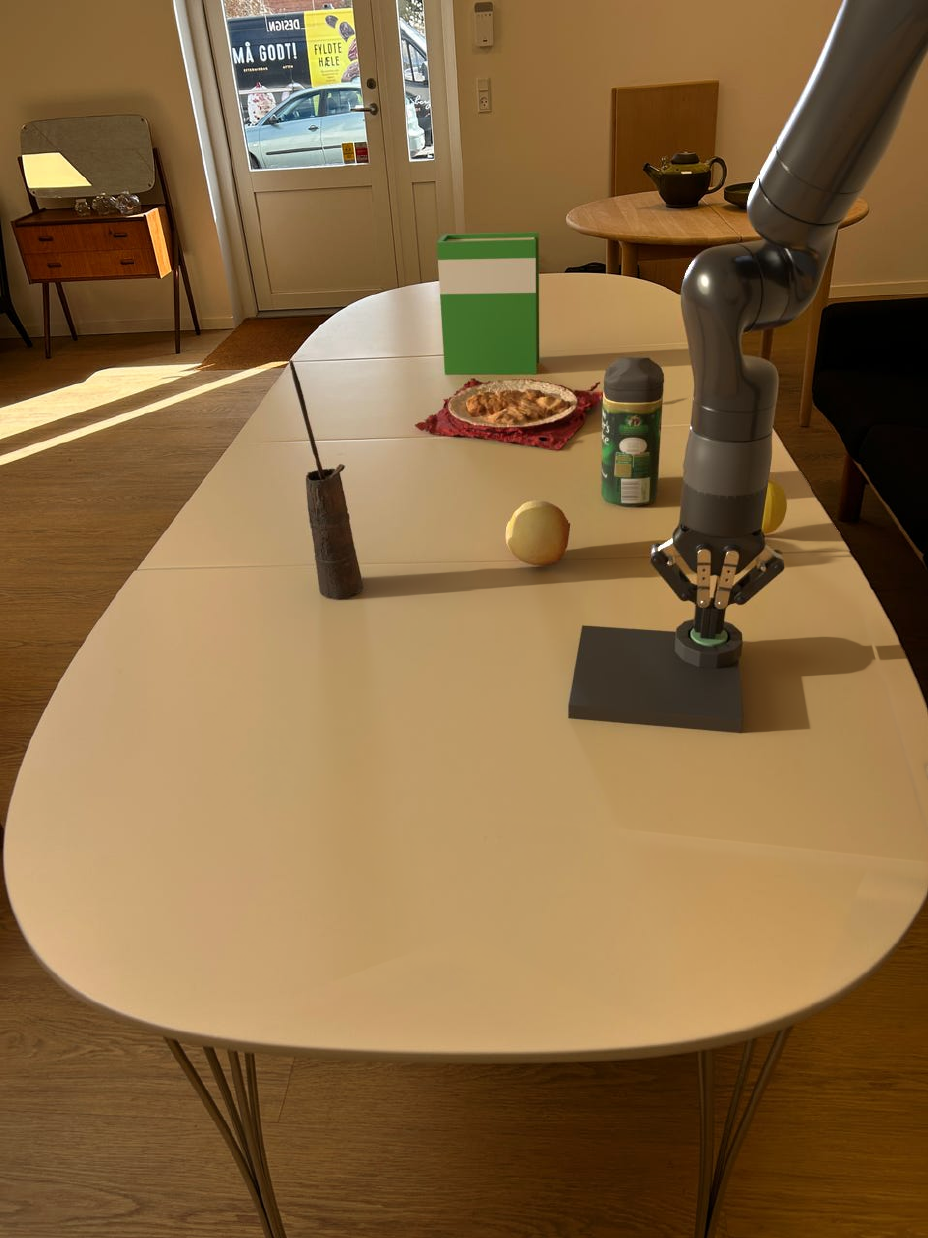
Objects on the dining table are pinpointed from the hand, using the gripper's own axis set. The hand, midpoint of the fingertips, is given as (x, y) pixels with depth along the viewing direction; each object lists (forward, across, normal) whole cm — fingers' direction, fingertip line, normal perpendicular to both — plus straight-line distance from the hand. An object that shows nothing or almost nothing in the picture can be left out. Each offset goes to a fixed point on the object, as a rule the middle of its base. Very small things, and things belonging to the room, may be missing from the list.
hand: (707, 634), depth 94 cm
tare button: (+2, 0, 0) cm, 2 cm away
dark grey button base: (+4, -5, -4) cm, 7 cm away
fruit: (+4, -20, +19) cm, 28 cm away
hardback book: (+4, -39, +95) cm, 103 cm away
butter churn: (+4, -42, +11) cm, 43 cm away
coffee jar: (+4, -10, +40) cm, 41 cm away
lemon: (+4, +7, +29) cm, 30 cm away
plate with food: (+4, -31, +69) cm, 76 cm away
